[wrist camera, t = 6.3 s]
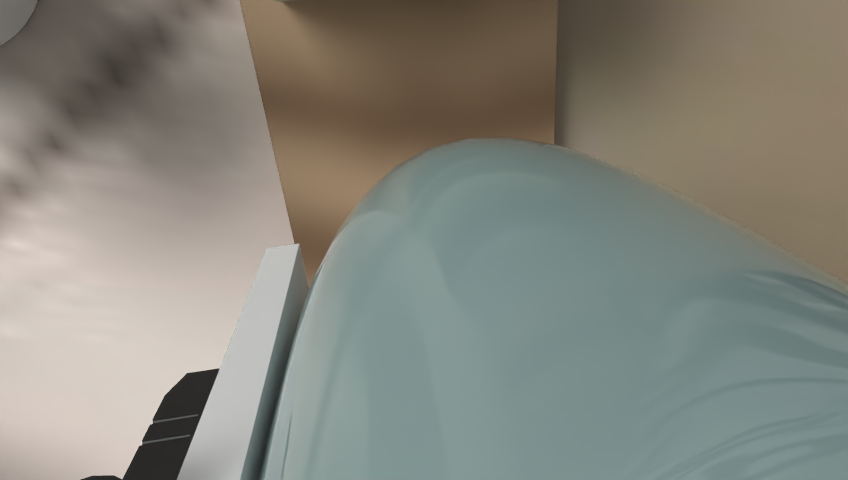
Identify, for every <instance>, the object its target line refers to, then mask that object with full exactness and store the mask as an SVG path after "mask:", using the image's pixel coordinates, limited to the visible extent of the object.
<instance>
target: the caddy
mask: <svg viewBox="0 0 848 480" xmlns="http://www.w3.org/2000/svg"><path fill="white" fill-rule="evenodd" d="M240 4H241V9H242V13H243V17H244V22H245V26H246V31H247V35H248V39H249V44H250V48H251V53H252V57H253V61H254V66H255V70H256V75H257V79H258V84H259V88H260V92H261V97H262V101H263V106H264V110H265V114H266V119H267V123H268V128H269V132H270V137H271V141H272V145H273V150H274V154H275V159H276V163H277V167H278V172H279V176H280V181H281V185H282V189H283V194H284V198H285V203H286V207H287V212H288V216H289V220H290V225H291V229H292V234H293V238H294V242H295V244H300V249H301V253H302V258H303V262H304V267H305V271H306V276H307V280H308V285H309V288H310V286H311V283H312V280H313V278H314V276H315V274H316V271H317V269H318V267H319V265H320V263H321V261H322V259H323V257H324V255H325V253H326V251H327V249H328V247H329V245H330V243H331V242H332V240H333V238H334V236H335V234H336V232H337V230H338V228H339V227H340V225H341V224H342V223H343V221H344V220H345V218H346V217H347V216H348V215H349V213H350V212H351V211H352V209H353V208H354V207H355V206H356V204H357V203H358V202H359V201H360V199H361V198H362V197H363V195H364V194H365V193H366V192H367V190H368V189H369V188H371V187H372V186H373V185H374V184H375V183H376V182H377V181H379V180H380V179H381V178H382V177H383V176H384V175H386V174H387V173H388V172H389V171H390V170H391V169H393V168H394V167H395V166H396V165H398V164H400V163H402V162H403V161H405V160H407V159H409V158H411V157H413V156H414V155H416V154H418V153H420V152H422V151H424V150H425V149H427V148H430V147H434V146H438V145H441V144H445V143H449V142H452V141H456V140H460V139H463V138H482V137H512V138H519V139H525V140H532V141H539V142H546V143H552V144H554V133H555V95H556V56H557V17H558V0H240Z"/></svg>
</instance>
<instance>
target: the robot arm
mask: <svg viewBox="0 0 848 480" xmlns="http://www.w3.org/2000/svg"><path fill="white" fill-rule="evenodd" d="M308 291H309V285H308V280H307V276H306V271H305V267H304V262H303V258H302V253H301V249H300V244H292V245H284V246H277V247H269V248H266V251H265V253H264V256H263V258H262V261H261V264H260V266H259V269H258V271H257V274H256V277H255V279H254V282H253V284H252V287H251V289H250V292H249V295H248V297H247V300H246V302H245V305H244V307H243V310H242V313H241V315H240V318H239V320H238V323H237V326H236V328H235V331H234V333H233V336H232V338H231V341H230V344H229V346H228V349H227V351H226V354H225V357H224V359H223V362H222V364H221V367H220V368H219V369H213V370H206V371H200V372H193V373H187V374H186V375H185V376H184V377H183V378H182V379H181V380H180V381H179V382H178V383H177V384H176V385H175V386H174V387H173V388H172V389H171V390H170V391H169V392H168V393H167V394H166V395H165V396H164V398H163V400H162V402H161V404H160V406H159V408H158V410H157V412H156V414H155V416H154V418H153V424H151V425H150V426H149V428H148V430H147V432H146V434H145V436H144V438H143V440H142V442H143V444H142V446H139V448H138V450H137V452H136V454H135V456H134V458H133V460H132V462H131V464H130V466H129V468H128V470H127V472H126V474H125V476H124V478H123V480H259V478H260V473H261V469H262V464H263V460H264V455H265V450H266V446H267V441H268V437H269V432H270V428H271V423H272V419H273V415H274V411H275V407H276V403H277V398H278V394H279V390H280V386H281V382H282V378H283V375H284V371H285V368H286V364H287V360H288V357H289V353H290V349H291V346H292V343H293V339H294V336H295V333H296V329H297V326H298V323H299V319H300V316H301V312H302V309H303V306H304V303H305V300H306V297H307V294H308ZM81 480H122V479H120V478H118V477H116V476H91V477H87V478H84V479H81Z"/></svg>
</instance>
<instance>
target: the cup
mask: <svg viewBox="0 0 848 480" xmlns="http://www.w3.org/2000/svg"><path fill="white" fill-rule="evenodd" d="M259 480H848V283H846V282H844V281H842V280H840V279H838V278H837V277H835V276H833V275H831V274H829V273H828V272H826V271H824V270H822V269H820V268H819V267H817V266H815V265H813V264H811V263H810V262H808V261H806V260H804V259H802V258H800V257H799V256H797V255H795V254H793V253H791V252H790V251H788V250H786V249H784V248H782V247H781V246H779V245H777V244H775V243H773V242H771V241H770V240H768V239H766V238H764V237H762V236H760V235H758V234H757V233H755V232H753V231H751V230H749V229H747V228H746V227H744V226H742V225H740V224H738V223H736V222H734V221H733V220H731V219H729V218H727V217H725V216H723V215H721V214H720V213H718V212H716V211H714V210H712V209H710V208H708V207H706V206H704V205H702V204H700V203H698V202H696V201H694V200H692V199H690V198H688V197H686V196H684V195H682V194H681V193H679V192H677V191H675V190H672V189H670V188H668V187H666V186H664V185H662V184H660V183H657V182H655V181H653V180H651V179H649V178H647V177H645V176H642V175H640V174H638V173H635V172H633V171H630V170H628V169H625V168H623V167H620V166H618V165H615V164H612V163H610V162H607V161H604V160H601V159H598V158H596V157H593V156H590V155H587V154H584V153H581V152H579V151H576V150H573V149H570V148H566V147H563V146H559V145H555V144H552V143H546V142H539V141H532V140H525V139H519V138H512V137H482V138H463V139H460V140H456V141H452V142H449V143H445V144H441V145H438V146H434V147H430V148H427V149H425V150H424V151H422V152H420V153H418V154H416V155H414V156H413V157H411V158H409V159H407V160H405V161H403V162H402V163H400V164H398V165H396V166H395V167H394V168H393V169H391V170H390V171H389V172H388V173H387V174H386V175H384V176H383V177H382V178H381V179H380V180H379V181H377V182H376V183H375V184H374V185H373V186H372V187H371V188H369V189H368V190H367V192H366V193H365V194H364V195H363V197H362V198H361V199H360V201H359V202H358V203H357V204H356V206H355V207H354V208H353V209H352V211H351V212H350V213H349V215H348V216H347V217H346V218H345V220H344V221H343V223H342V224H341V225H340V227H339V228H338V230H337V232H336V234H335V236H334V238H333V240H332V242H331V243H330V245H329V247H328V249H327V251H326V253H325V255H324V257H323V259H322V261H321V263H320V265H319V267H318V269H317V271H316V274H315V276H314V278H313V280H312V283H311V286H310V288H309V291H308V294H307V297H306V300H305V303H304V306H303V309H302V312H301V316H300V319H299V323H298V326H297V329H296V333H295V336H294V339H293V343H292V346H291V349H290V353H289V357H288V360H287V364H286V368H285V371H284V375H283V378H282V382H281V386H280V390H279V394H278V398H277V403H276V407H275V411H274V415H273V419H272V423H271V428H270V432H269V437H268V441H267V446H266V450H265V455H264V460H263V464H262V469H261V473H260V478H259Z"/></svg>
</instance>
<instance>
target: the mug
mask: <svg viewBox="0 0 848 480" xmlns="http://www.w3.org/2000/svg"><path fill="white" fill-rule="evenodd" d="M37 2H38V0H0V45H2V44H4V43H6V42H7V41H8V40H10V39H11V38H12V37H14V36H15V35H16V34H17V33H18V32H19V31H20V30H21V29H22V28H23V27H24V25H25V24H26V23H27V21H28V20H29V18H30V17H31V15H32V13H33V11H34V9H35V7H36V4H37Z"/></svg>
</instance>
